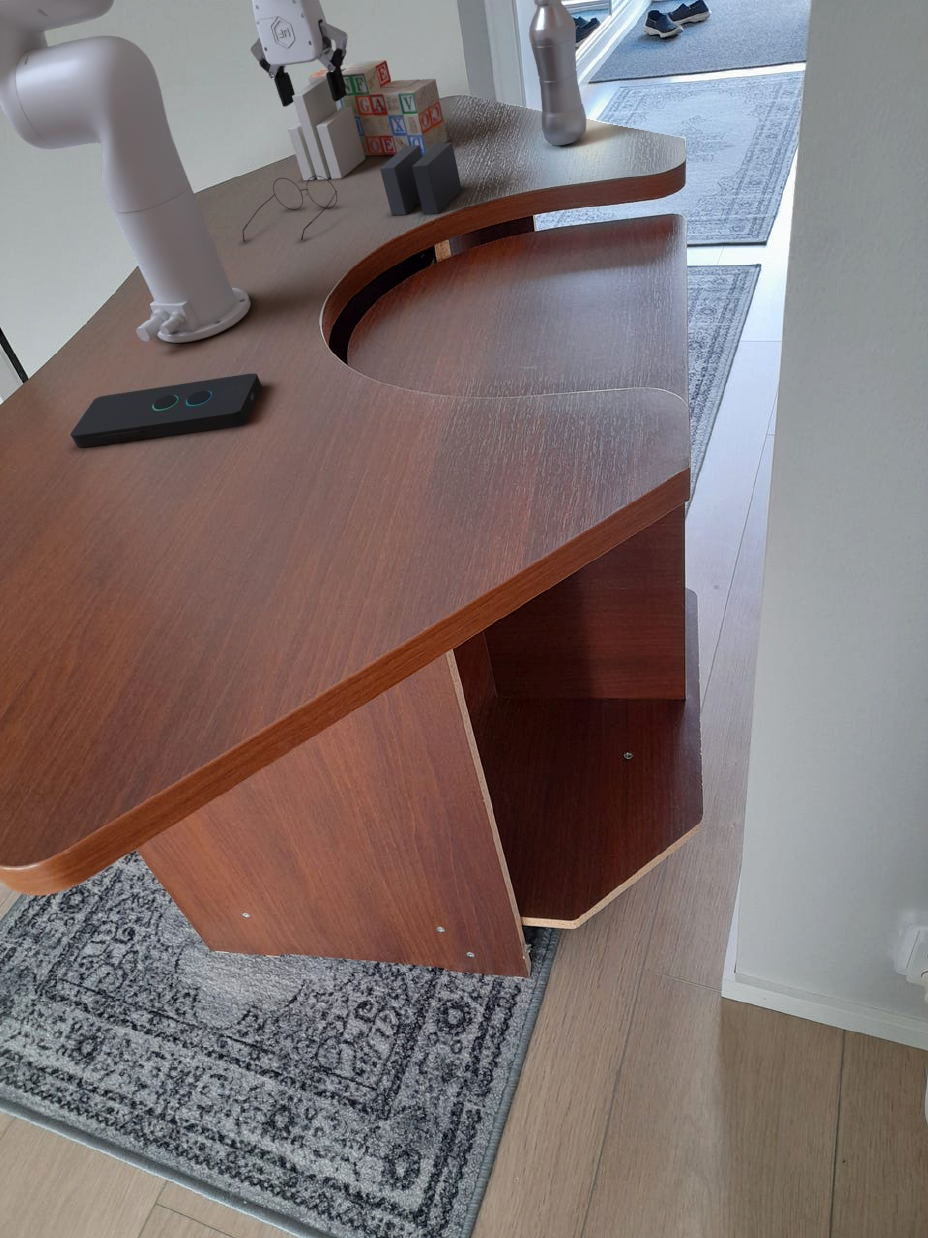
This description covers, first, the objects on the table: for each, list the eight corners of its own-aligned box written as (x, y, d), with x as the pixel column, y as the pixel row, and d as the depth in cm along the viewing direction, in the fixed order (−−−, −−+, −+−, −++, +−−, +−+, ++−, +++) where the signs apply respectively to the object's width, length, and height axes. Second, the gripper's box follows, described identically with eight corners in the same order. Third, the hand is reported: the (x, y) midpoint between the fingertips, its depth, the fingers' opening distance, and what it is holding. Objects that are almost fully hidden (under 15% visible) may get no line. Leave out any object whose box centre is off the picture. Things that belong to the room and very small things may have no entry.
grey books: (438, 213, 125) (427, 164, 121) (391, 215, 128) (379, 167, 124) (461, 189, 130) (452, 141, 125) (416, 191, 133) (405, 145, 129)
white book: (327, 179, 146) (302, 94, 137) (317, 180, 147) (291, 95, 138) (351, 159, 151) (328, 76, 142) (341, 160, 151) (318, 78, 143)
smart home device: (238, 411, 93) (67, 436, 97) (244, 425, 94) (75, 449, 98) (258, 370, 99) (95, 395, 103) (263, 383, 100) (102, 408, 104)
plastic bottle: (576, 150, 131) (557, -11, 118) (536, 150, 135) (513, -6, 121) (596, 133, 135) (580, -26, 121) (556, 134, 138) (537, -20, 125)
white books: (342, 178, 145) (326, 124, 139) (303, 180, 148) (287, 128, 142) (365, 158, 149) (351, 106, 144) (327, 161, 153) (312, 110, 147)
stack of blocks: (449, 141, 147) (431, 56, 138) (427, 156, 144) (407, 70, 135) (352, 140, 158) (330, 62, 150) (329, 155, 155) (306, 75, 146)
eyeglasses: (307, 240, 128) (295, 204, 125) (238, 242, 133) (225, 208, 130) (345, 207, 135) (335, 172, 131) (278, 210, 140) (267, 176, 137)
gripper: (216, -14, 131) (258, 113, 143) (312, -31, 124) (349, 104, 136) (244, -28, 136) (283, 97, 147) (339, -46, 128) (372, 87, 140)
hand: (314, 100), depth 142 cm, fingers open, 9 cm apart
